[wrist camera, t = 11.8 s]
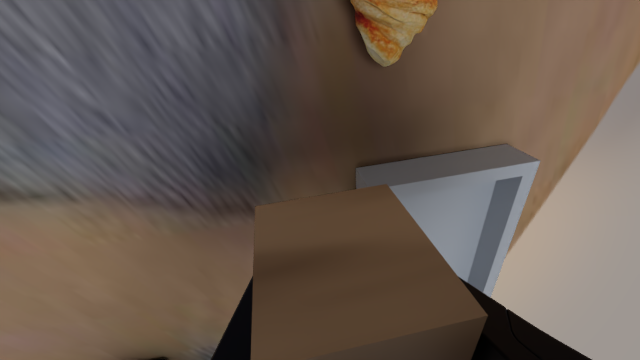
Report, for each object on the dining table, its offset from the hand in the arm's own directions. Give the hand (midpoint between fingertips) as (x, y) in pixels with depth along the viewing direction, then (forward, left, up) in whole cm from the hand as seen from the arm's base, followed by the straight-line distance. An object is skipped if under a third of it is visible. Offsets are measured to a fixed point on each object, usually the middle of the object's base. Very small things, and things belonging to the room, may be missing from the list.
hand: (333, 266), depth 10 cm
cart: (-12, -10, -10) cm, 19 cm away
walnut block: (0, 0, -1) cm, 1 cm away
